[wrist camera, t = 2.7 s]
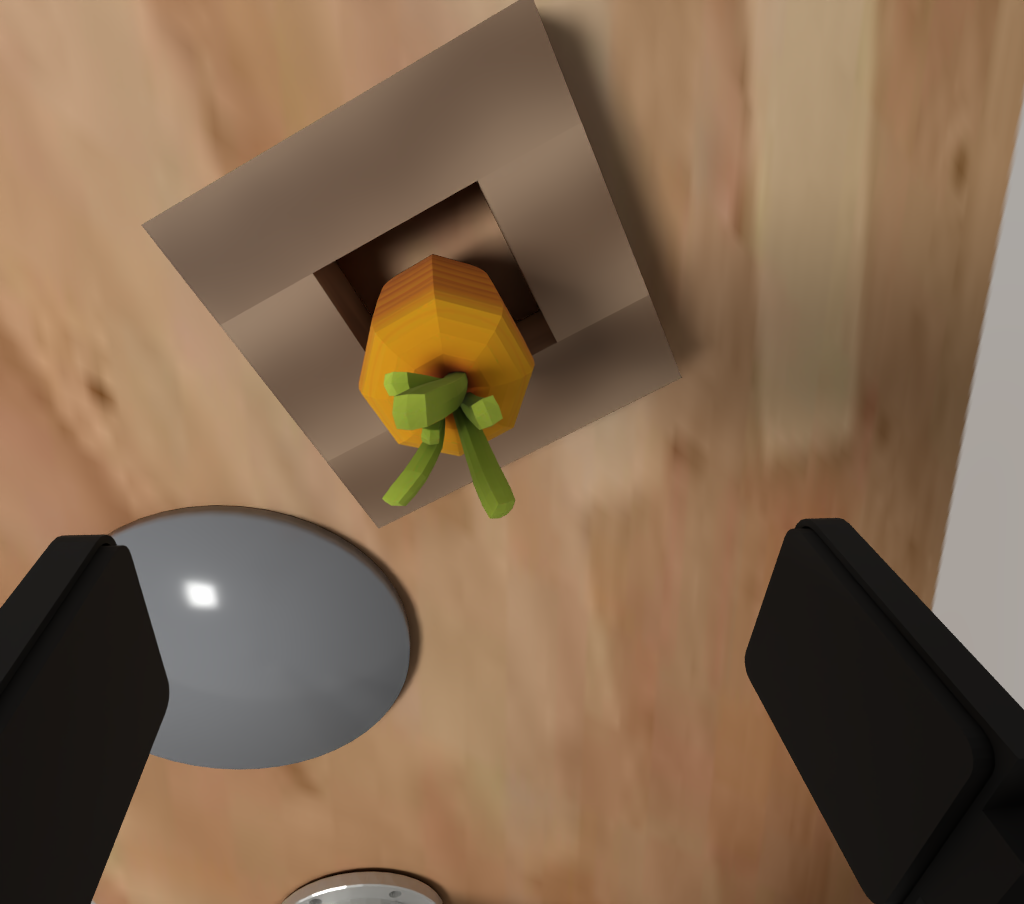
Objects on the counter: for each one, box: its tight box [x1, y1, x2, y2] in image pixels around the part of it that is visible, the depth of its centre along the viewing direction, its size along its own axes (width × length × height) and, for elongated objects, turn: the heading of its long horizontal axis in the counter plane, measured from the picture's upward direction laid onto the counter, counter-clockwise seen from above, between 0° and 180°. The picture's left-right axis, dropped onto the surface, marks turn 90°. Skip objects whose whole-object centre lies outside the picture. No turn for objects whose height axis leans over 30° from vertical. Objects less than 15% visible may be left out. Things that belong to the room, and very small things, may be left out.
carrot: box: [359, 254, 535, 518], centre depth 20 cm, size 5×5×15 cm
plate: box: [108, 506, 410, 769], centre depth 35 cm, size 18×18×1 cm
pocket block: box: [142, 0, 682, 528], centre depth 25 cm, size 14×14×4 cm
